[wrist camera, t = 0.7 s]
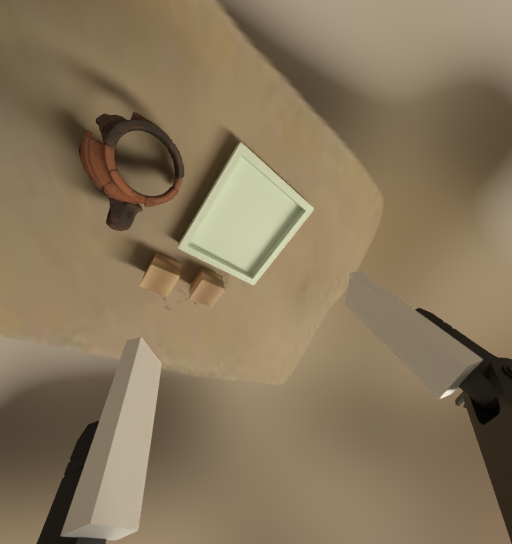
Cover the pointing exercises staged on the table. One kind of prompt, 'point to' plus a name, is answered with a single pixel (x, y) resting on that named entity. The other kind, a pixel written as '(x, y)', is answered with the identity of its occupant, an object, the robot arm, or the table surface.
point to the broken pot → (105, 172)
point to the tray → (245, 218)
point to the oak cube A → (161, 274)
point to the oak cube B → (206, 287)
